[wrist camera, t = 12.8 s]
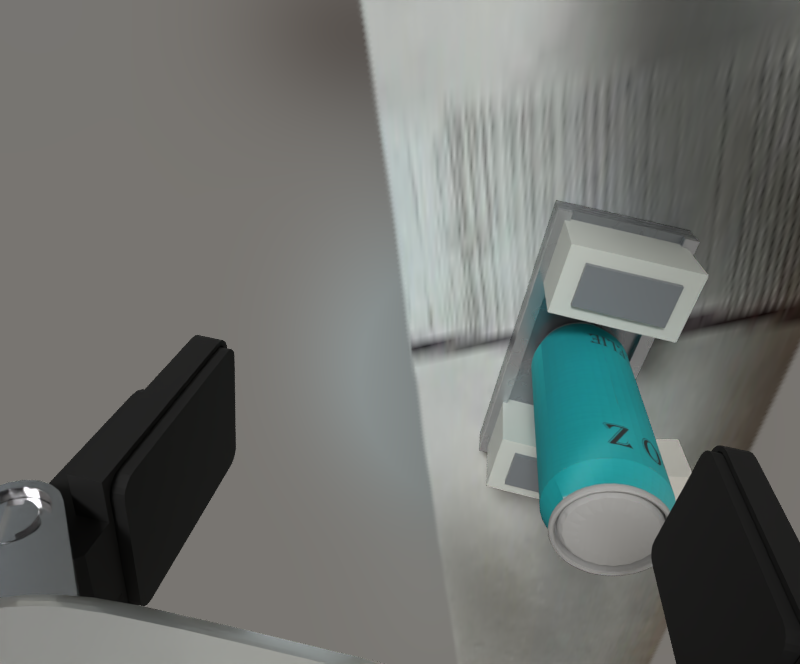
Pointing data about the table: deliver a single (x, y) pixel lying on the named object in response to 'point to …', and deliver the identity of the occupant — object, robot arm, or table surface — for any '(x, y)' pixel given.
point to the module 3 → (674, 463)
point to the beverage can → (596, 454)
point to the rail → (540, 322)
